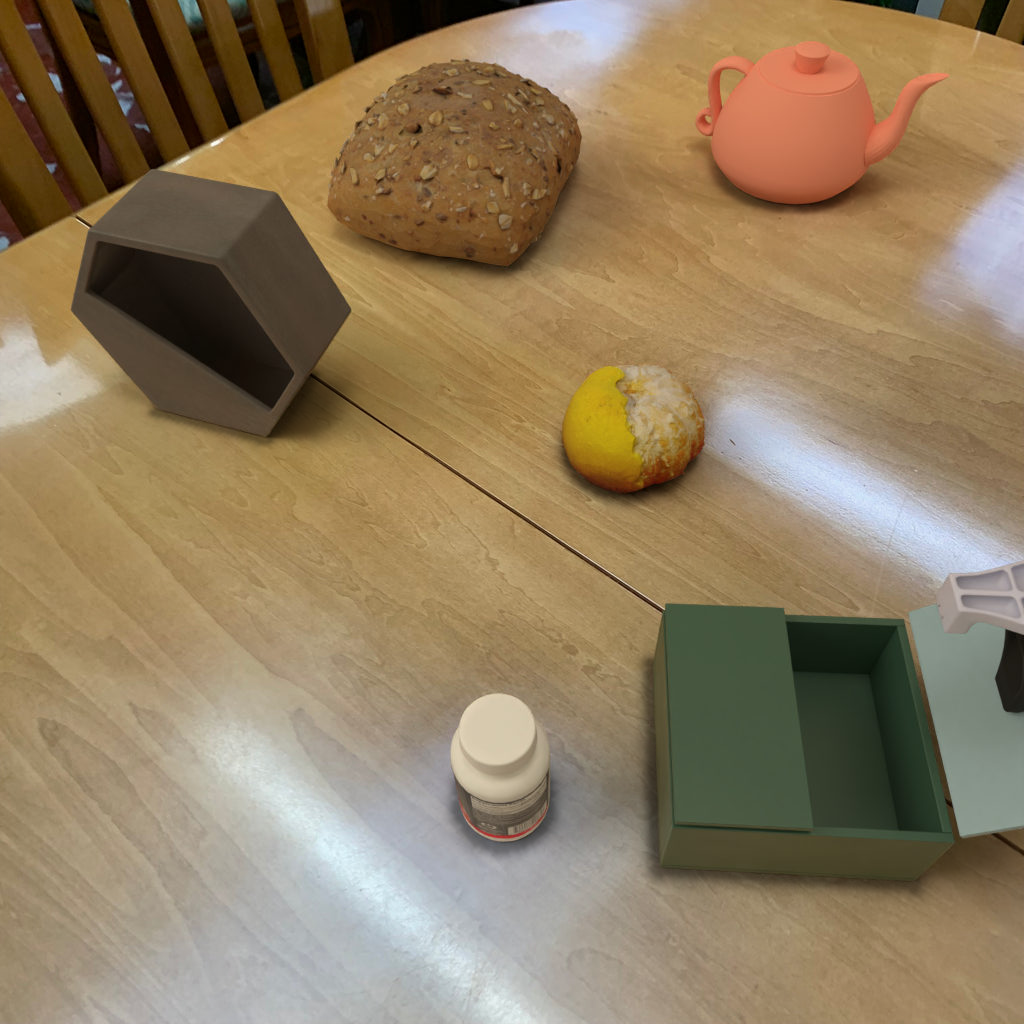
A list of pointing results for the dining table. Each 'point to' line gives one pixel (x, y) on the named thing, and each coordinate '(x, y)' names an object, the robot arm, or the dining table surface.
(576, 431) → the fruit
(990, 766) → the hatch
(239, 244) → the planter
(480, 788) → the pill bottle
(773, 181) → the teapot
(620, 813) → the dining table surface
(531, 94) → the bread
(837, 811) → the seed box
